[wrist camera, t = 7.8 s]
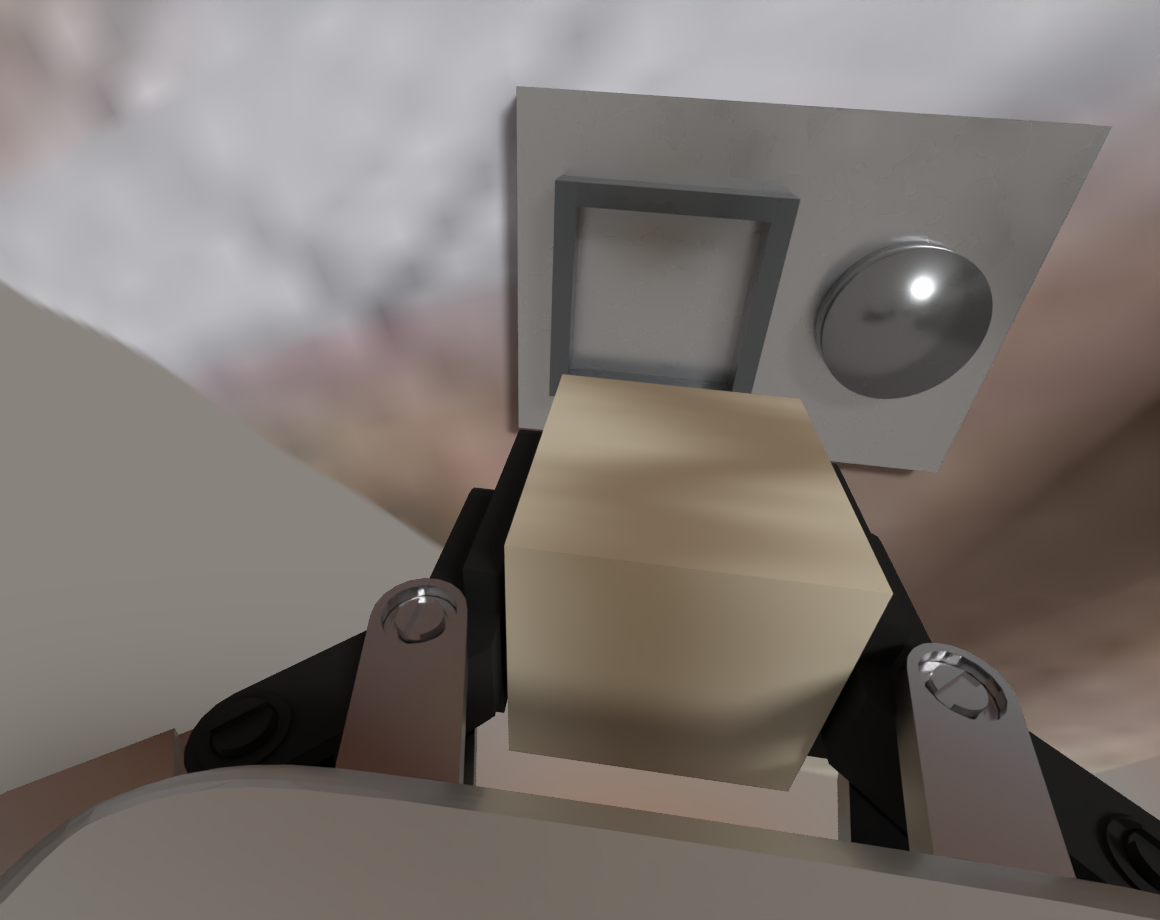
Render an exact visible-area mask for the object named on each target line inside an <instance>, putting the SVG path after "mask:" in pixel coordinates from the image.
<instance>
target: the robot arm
mask: <svg viewBox="0 0 1160 920" xmlns="http://www.w3.org/2000/svg"><path fill="white" fill-rule="evenodd" d="M542 433H543V432H540V431H531V430H519V432H518V434H517V437H516V439H515V442H514V444H513V447H512V449H511V452H510V454H509V457H508V459H507V461H506V464H505V466H504V469H503V471H502V474H501V476H500V479H499V481H498V484H497V486H496V488H495V490H491V489H483V488H473V489H472V490H471V492H470V493H469V495H468V497H467V500H466V502H465V504H464V506H463V508H462V510H461V512H460V514H459V517H458V519H457V521H456V523H455V525H454V527H453V529H452V532H451V534H450V536H449V538H448V540H447V542H446V544H445V547H444V549H443V551H442V553H441V555H440V558H439V559H438V561H437V564H436V566H435V568H434V570H433V572H432V575H431V576H430V579H428V578H423V579H416V580H411V581H407V582H405V583H402V584H400V585H398V586H395V587H394V588H393V589H391V590H389V591H388V592H386V593H385V594H384V595H383V596H382V597H381V598H380V599H379V601H378V602H377V603H376V604H375V606H374V608H373V610H372V613H371V615H370V619H369V623H368V628H367V630H366V631H364V632H362V633H360V634H358V635H356V636H354V637H351V638H349V639H347V640H345V641H343V642H341V643H339V644H337V645H335V646H333V647H331V648H329V649H326V650H324V651H322V652H320V653H318V654H316V655H314V656H312V657H310V658H308V659H306V660H304V661H301V662H299V663H297V664H295V665H293V666H291V667H289V668H287V669H285V670H283V671H281V672H278V673H276V674H274V675H272V676H270V677H268V678H266V679H264V680H262V681H260V682H258V683H256V684H254V685H251V686H249V687H247V688H245V689H243V690H241V691H239V692H237V693H235V694H233V695H231V696H230V697H228V698H226V699H225V700H223V701H221V702H220V703H218V704H217V705H215V707H213V708H212V709H211V710H210V711H209V712H208V713H207V714H205V715H204V716H203V717H202V718H201V720H200V721H199V722H198V724H197V725H196V726H195V728H194V729H193V730H190V731H187V732H185V733H182V734H180V735H178V733H177V732H176V730H175V729H174V728H173V729H171V730H169V731H166V732H163V733H160V734H158V735H155V736H152V737H150V738H147V739H144V740H142V741H139V742H136V743H134V744H131V745H129V746H126V747H124V748H121V749H118V750H116V751H113V752H110V753H107V754H105V755H102V756H100V757H97V758H94V759H92V760H89V761H86V762H84V763H81V764H78V765H76V766H73V767H70V768H68V769H65V770H63V771H60V772H57V773H55V774H52V775H49V776H47V777H44V778H41V779H39V780H36V781H34V782H31V783H28V784H26V785H23V786H20V787H18V788H15V789H12V790H10V791H7V792H5V793H3V794H1V795H0V920H1160V820H1158V819H1157V818H1155V817H1154V816H1152V815H1151V814H1149V813H1148V812H1146V811H1145V810H1143V809H1142V808H1141V807H1139V806H1137V805H1136V804H1135V803H1133V802H1131V801H1130V800H1129V799H1127V798H1126V797H1124V796H1123V795H1122V794H1120V793H1119V792H1117V791H1116V790H1114V789H1113V788H1111V787H1110V786H1108V785H1107V784H1105V783H1104V782H1103V781H1101V780H1100V779H1098V778H1097V777H1095V776H1094V775H1092V774H1091V773H1089V772H1088V771H1086V770H1085V769H1084V768H1082V767H1081V766H1079V765H1078V764H1076V763H1075V762H1073V761H1072V760H1070V759H1069V758H1067V757H1066V756H1065V755H1063V754H1062V753H1060V752H1059V751H1057V750H1056V749H1054V748H1053V747H1051V746H1050V745H1048V744H1047V743H1046V742H1044V741H1043V740H1041V739H1040V738H1038V737H1037V736H1035V735H1034V734H1032V733H1031V732H1029V731H1028V728H1027V725H1026V722H1025V719H1024V716H1023V713H1022V710H1021V707H1020V704H1019V701H1018V699H1017V697H1016V695H1015V693H1014V691H1013V689H1012V687H1011V686H1010V685H1009V684H1008V683H1007V682H1006V680H1005V679H1004V678H1003V677H1002V676H1001V674H1000V673H998V672H997V671H996V670H995V669H994V668H992V667H991V666H990V665H989V664H988V663H986V662H985V661H983V660H982V659H980V658H978V657H976V656H975V655H973V654H971V653H970V652H967V651H965V650H962V649H960V648H957V647H955V646H952V645H947V644H941V643H932V642H931V640H930V638H929V636H928V634H927V632H926V630H925V628H924V626H923V624H922V622H921V620H920V618H919V617H918V615H917V613H916V611H915V609H914V607H913V605H912V603H911V601H910V599H909V597H908V595H907V593H906V591H905V589H904V587H903V585H902V583H901V581H900V579H899V577H898V575H897V573H896V571H895V569H894V567H893V565H892V563H891V561H890V559H889V557H888V555H887V553H886V551H885V549H884V547H883V545H882V543H881V541H880V540H879V538H878V537H877V536H876V535H874V534H871V532H870V530H869V528H868V526H867V524H866V522H865V520H864V518H863V516H862V514H861V512H860V510H859V508H858V506H857V504H856V502H855V500H854V498H853V495H852V493H851V491H850V489H849V487H848V485H847V483H846V481H845V479H844V477H843V475H842V473H841V471H840V469H839V467H838V466H837V464H834V463H831V464H832V466H833V468H834V470H835V473H836V475H837V477H838V479H839V481H840V483H841V485H842V487H843V489H844V491H845V494H846V496H847V498H848V500H849V502H850V504H851V506H852V508H853V510H854V512H855V515H856V517H857V519H858V521H859V523H860V525H861V527H862V529H863V531H864V533H865V536H866V538H867V540H868V542H869V544H870V546H871V548H872V550H873V552H874V554H875V557H876V559H877V561H878V563H879V565H880V567H881V569H882V571H883V573H884V575H885V578H886V580H887V582H888V584H889V586H890V588H891V590H892V592H893V595H892V597H891V599H890V600H889V602H888V604H887V606H886V608H885V610H884V612H883V614H882V616H881V617H880V619H879V621H878V623H877V625H876V627H875V629H874V631H873V632H872V634H871V636H870V638H869V640H868V642H867V644H866V646H865V648H864V649H863V651H862V653H861V655H860V657H859V659H858V661H857V663H856V664H855V666H854V668H853V670H852V672H851V674H850V676H849V678H848V680H847V681H846V683H845V685H844V687H843V689H842V691H841V693H840V695H839V696H838V698H837V700H836V702H835V704H834V706H833V708H832V710H831V712H830V713H829V715H828V717H827V719H826V721H825V723H824V725H823V727H822V729H821V730H820V732H819V734H818V736H817V738H816V740H815V742H814V744H813V745H812V747H811V749H810V751H809V753H808V755H807V756H812V757H819V758H826V759H828V762H829V764H830V765H831V766H832V767H833V768H834V769H836V770H837V771H838V772H839V773H838V779H837V785H838V837H839V838H838V840H834V839H827V838H821V837H814V836H808V835H800V834H794V833H788V832H781V831H774V830H768V829H762V828H755V827H748V826H741V825H735V824H729V823H722V822H715V821H709V820H702V819H695V818H689V817H682V816H675V815H669V814H662V813H655V812H649V811H642V810H635V809H629V808H622V807H615V806H609V805H601V804H595V803H588V802H581V801H574V800H568V799H560V798H554V797H547V796H540V795H533V794H525V793H520V792H512V791H506V790H499V789H492V788H485V787H478V786H476V752H477V727H478V726H480V725H481V724H483V723H484V722H486V721H488V720H489V719H491V718H492V717H494V716H495V713H496V712H502V713H504V711H505V707H506V703H507V699H508V684H507V640H506V597H505V553H504V545H505V542H506V539H507V536H508V533H509V530H510V527H511V524H512V521H513V518H514V515H515V513H516V510H517V507H518V504H519V501H520V498H521V495H522V492H523V489H524V486H525V483H526V480H527V477H528V474H529V471H530V468H531V465H532V462H533V459H534V456H535V454H536V451H537V448H538V445H539V442H540V439H541V436H542Z"/></svg>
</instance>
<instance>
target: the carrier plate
mask: <svg viewBox="0 0 1160 920" xmlns="http://www.w3.org/2000/svg"><path fill="white" fill-rule="evenodd" d="M516 94H517V250H518V406H519V428H528V429H537V430H544V427H545V424H546V421H547V418H548V415H549V412H550V409H551V406H552V403H553V400H554V397H555V395H556V392H557V389H558V386H559V383H560V380H561V377H562V374H564V375H574V376H584V377H593V378H603V379H613V380H622V381H632V382H642V383H652V384H661V385H671V386H681V387H690V388H700V389H710V390H719V391H729V392H739V393H748V394H758V395H768V396H778V397H787V398H797V399H801V401H802V403H803V405H804V407H805V410H806V412H807V414H808V416H809V418H810V420H811V422H812V424H813V426H814V428H815V431H816V433H817V435H818V437H819V439H820V441H821V443H822V445H823V447H824V449H825V452H826V454H827V456H828V458H829V460H830V461H834V462H843V463H852V464H861V465H871V466H880V467H889V468H899V469H908V470H917V471H926V472H936V473H937V471H938V469H939V467H940V466H941V464H942V462H943V460H944V458H945V456H946V454H947V452H948V450H949V448H950V446H951V444H952V442H953V440H954V438H955V436H956V434H957V432H958V430H959V428H960V426H961V424H962V422H963V420H964V418H965V416H966V414H967V412H968V410H969V408H970V406H971V404H972V402H973V400H974V398H975V396H976V394H977V392H978V390H979V388H980V386H981V384H982V383H983V381H984V379H985V377H986V375H987V373H988V371H989V369H990V367H991V365H992V363H993V361H994V359H995V357H996V355H997V353H998V351H999V349H1000V347H1001V345H1002V343H1003V341H1004V339H1005V337H1006V335H1007V333H1008V331H1009V329H1010V327H1011V325H1012V323H1013V321H1014V319H1015V317H1016V315H1017V313H1018V311H1019V309H1020V307H1021V305H1022V303H1023V302H1024V300H1025V298H1026V296H1027V294H1028V292H1029V290H1030V288H1031V286H1032V284H1033V282H1034V280H1035V278H1036V276H1037V274H1038V272H1039V270H1040V268H1041V266H1042V264H1043V262H1044V260H1045V258H1046V256H1047V254H1048V252H1049V250H1050V248H1051V246H1052V244H1053V242H1054V240H1055V238H1056V236H1057V234H1058V232H1059V230H1060V228H1061V226H1062V224H1063V222H1064V221H1065V219H1066V217H1067V215H1068V213H1069V211H1070V209H1071V207H1072V205H1073V203H1074V201H1075V199H1076V197H1077V195H1078V193H1079V191H1080V189H1081V187H1082V185H1083V183H1084V181H1085V179H1086V177H1087V175H1088V173H1089V171H1090V169H1091V167H1092V165H1093V163H1094V161H1095V159H1096V157H1097V155H1098V153H1099V151H1100V149H1101V147H1102V145H1103V143H1104V141H1105V140H1106V138H1107V136H1108V134H1109V132H1110V130H1111V128H1112V127H1110V126H1096V125H1082V124H1067V123H1052V122H1037V121H1022V120H1008V119H993V118H978V117H963V116H948V115H934V114H919V113H904V112H889V111H875V110H860V109H845V108H830V107H815V106H801V105H786V104H771V103H756V102H741V101H727V100H712V99H697V98H682V97H668V96H653V95H638V94H623V93H608V92H594V91H579V90H564V89H549V88H535V87H519V86H516Z"/></svg>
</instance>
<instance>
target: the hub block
mask: <svg viewBox="0 0 1160 920" xmlns="http://www.w3.org/2000/svg"><path fill="white" fill-rule="evenodd" d="M504 553H505V597H506V640H507V684H508V725H509V750H510V751H517V752H524V753H530V754H537V755H544V756H551V757H557V758H564V759H571V760H577V761H585V762H592V763H598V764H605V765H611V766H618V767H625V768H632V769H639V770H646V771H653V772H659V773H666V774H673V775H679V776H686V777H693V778H700V779H706V780H713V781H720V782H727V783H734V784H740V785H747V786H754V787H760V788H767V789H774V790H781V791H789V789H790V787H791V785H792V783H793V781H794V779H795V777H796V775H797V773H798V772H799V770H800V768H801V766H802V764H803V762H804V761H805V759H806V757H807V755H808V753H809V751H810V749H811V747H812V745H813V744H814V742H815V740H816V738H817V736H818V734H819V732H820V730H821V729H822V727H823V725H824V723H825V721H826V719H827V717H828V715H829V713H830V712H831V710H832V708H833V706H834V704H835V702H836V700H837V698H838V696H839V695H840V693H841V691H842V689H843V687H844V685H845V683H846V681H847V680H848V678H849V676H850V674H851V672H852V670H853V668H854V666H855V664H856V663H857V661H858V659H859V657H860V655H861V653H862V651H863V649H864V648H865V646H866V644H867V642H868V640H869V638H870V636H871V634H872V632H873V631H874V629H875V627H876V625H877V623H878V621H879V619H880V617H881V616H882V614H883V612H884V610H885V608H886V606H887V604H888V602H889V600H890V599H891V597H892V595H893V592H892V590H891V588H890V586H889V584H888V582H887V580H886V578H885V575H884V573H883V571H882V569H881V567H880V565H879V563H878V561H877V559H876V557H875V554H874V552H873V550H872V548H871V546H870V544H869V542H868V540H867V538H866V536H865V533H864V531H863V529H862V527H861V525H860V523H859V521H858V519H857V517H856V515H855V512H854V510H853V508H852V506H851V504H850V502H849V500H848V498H847V496H846V494H845V491H844V489H843V487H842V485H841V483H840V481H839V479H838V477H837V475H836V473H835V470H834V468H833V466H832V464H831V462H830V460H829V458H828V456H827V454H826V452H825V449H824V447H823V445H822V443H821V441H820V439H819V437H818V435H817V433H816V431H815V428H814V426H813V424H812V422H811V420H810V418H809V416H808V414H807V412H806V410H805V407H804V405H803V403H802V401H801V399H797V398H787V397H778V396H768V395H758V394H748V393H739V392H729V391H719V390H710V389H700V388H690V387H681V386H671V385H661V384H652V383H642V382H632V381H622V380H613V379H603V378H593V377H584V376H574V375H564V374H562V377H561V380H560V383H559V386H558V389H557V392H556V395H555V397H554V400H553V403H552V406H551V409H550V412H549V415H548V418H547V421H546V424H545V427H544V430H543V433H542V436H541V439H540V442H539V445H538V448H537V451H536V454H535V456H534V459H533V462H532V465H531V468H530V471H529V474H528V477H527V480H526V483H525V486H524V489H523V492H522V495H521V498H520V501H519V504H518V507H517V510H516V513H515V515H514V518H513V521H512V524H511V527H510V530H509V533H508V536H507V539H506V542H505V545H504Z"/></svg>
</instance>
